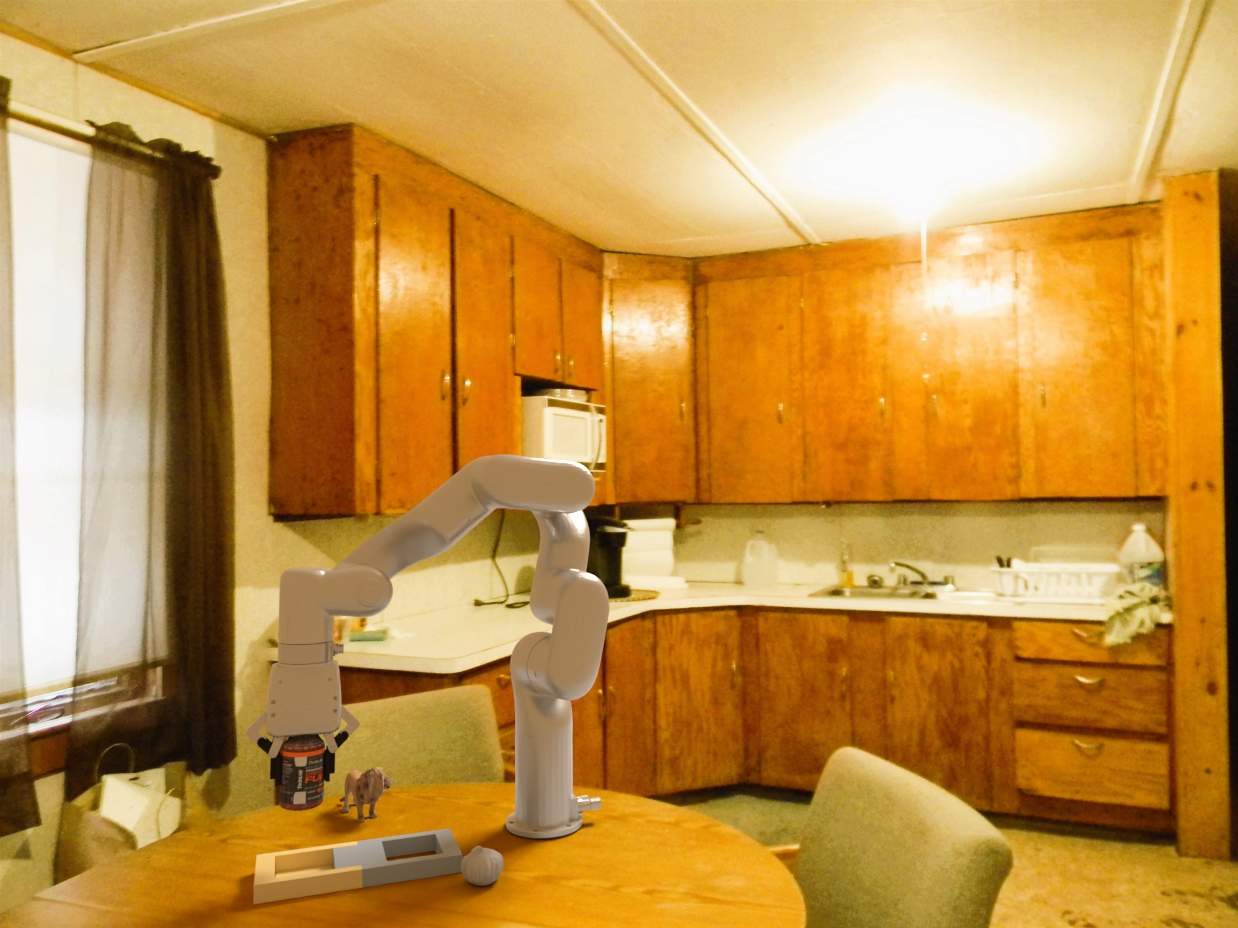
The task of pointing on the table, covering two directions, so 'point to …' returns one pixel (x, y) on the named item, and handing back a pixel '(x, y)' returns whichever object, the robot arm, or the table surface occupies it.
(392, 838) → the beige and grey tray
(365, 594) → the robot arm
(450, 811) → the table surface
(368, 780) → the lion figurine
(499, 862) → the garlic
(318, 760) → the supplement bottle
